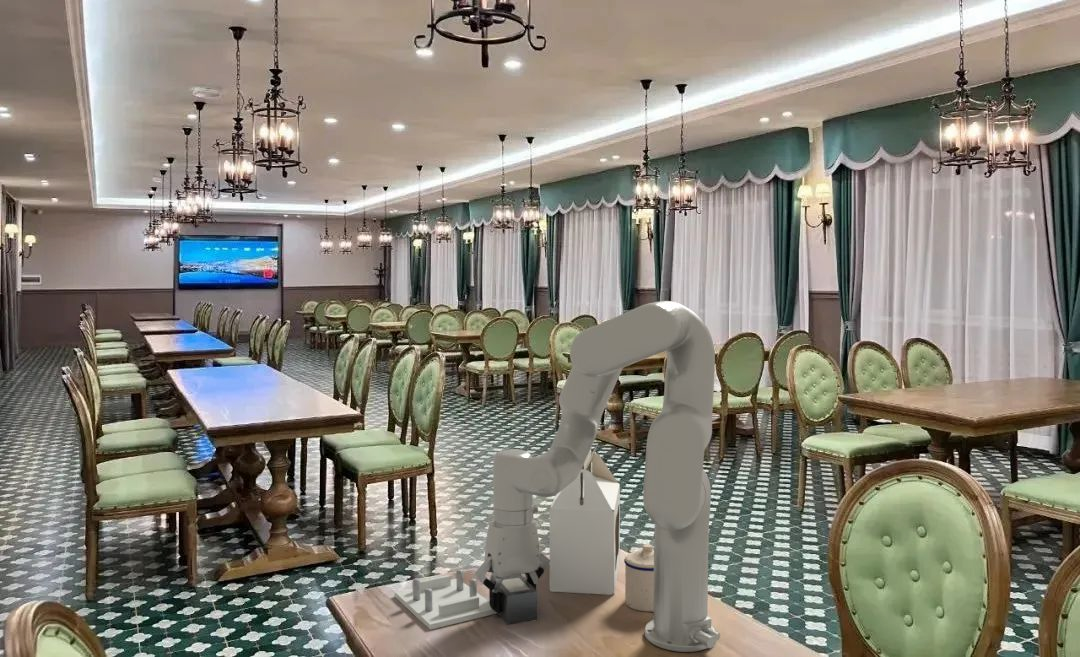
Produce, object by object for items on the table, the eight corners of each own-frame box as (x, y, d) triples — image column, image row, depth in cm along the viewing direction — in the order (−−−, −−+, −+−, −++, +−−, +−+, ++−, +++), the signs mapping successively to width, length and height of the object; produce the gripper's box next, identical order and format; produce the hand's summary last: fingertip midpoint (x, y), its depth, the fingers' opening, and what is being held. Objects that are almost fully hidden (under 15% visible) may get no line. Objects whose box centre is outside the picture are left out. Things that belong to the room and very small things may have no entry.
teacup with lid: (674, 612, 153) (675, 553, 153) (627, 613, 153) (627, 553, 152) (662, 588, 165) (663, 533, 165) (619, 589, 165) (619, 533, 164)
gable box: (614, 596, 162) (614, 459, 160) (549, 592, 164) (548, 457, 162) (619, 558, 184) (620, 437, 182) (562, 555, 186) (562, 435, 184)
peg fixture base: (497, 613, 153) (497, 587, 153) (430, 629, 146) (429, 603, 146) (457, 582, 169) (457, 559, 169) (394, 596, 162) (394, 572, 161)
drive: (537, 620, 150) (537, 590, 150) (507, 625, 148) (506, 595, 148) (519, 599, 160) (518, 571, 160) (490, 603, 158) (490, 575, 158)
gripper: (541, 504, 161) (541, 591, 162) (463, 517, 152) (463, 609, 153) (561, 513, 154) (561, 604, 155) (481, 527, 145) (481, 623, 146)
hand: (513, 605), depth 154 cm, fingers open, 6 cm apart
